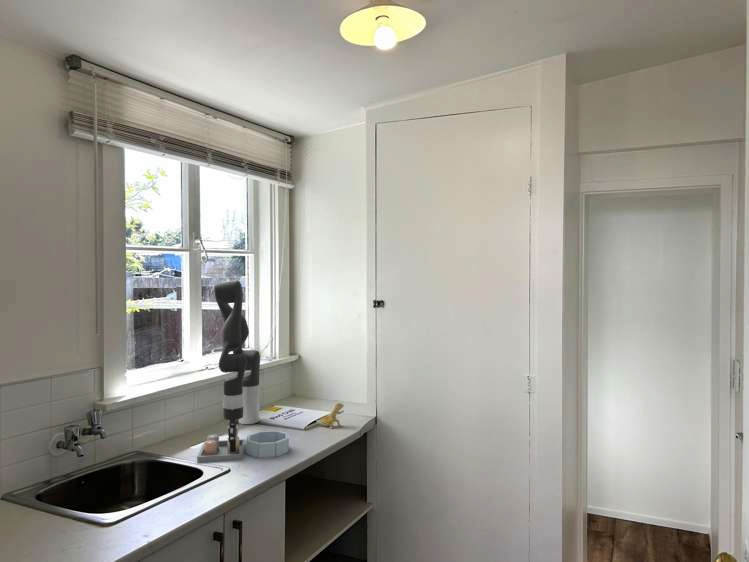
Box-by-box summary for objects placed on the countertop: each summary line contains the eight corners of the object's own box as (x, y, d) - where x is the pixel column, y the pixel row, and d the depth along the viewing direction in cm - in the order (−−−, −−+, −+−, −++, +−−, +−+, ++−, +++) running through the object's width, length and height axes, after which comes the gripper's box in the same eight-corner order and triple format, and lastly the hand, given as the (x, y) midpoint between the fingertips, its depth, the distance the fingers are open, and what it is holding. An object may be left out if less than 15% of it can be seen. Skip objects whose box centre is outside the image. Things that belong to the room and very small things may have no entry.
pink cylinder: (208, 448, 208) (208, 434, 208) (219, 448, 208) (219, 434, 208) (206, 452, 203) (206, 438, 203) (218, 451, 204) (218, 437, 204)
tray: (204, 446, 211) (204, 441, 211) (245, 444, 213) (245, 439, 213) (197, 462, 193) (197, 456, 193) (242, 460, 196) (242, 454, 195)
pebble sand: (228, 450, 206) (228, 436, 205) (239, 450, 206) (239, 436, 206) (226, 454, 201) (226, 440, 201) (238, 453, 202) (238, 439, 202)
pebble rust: (205, 454, 201) (205, 440, 201) (217, 454, 201) (217, 439, 201) (203, 458, 196) (203, 444, 196) (215, 458, 197) (215, 443, 197)
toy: (345, 424, 232) (339, 401, 235) (315, 433, 236) (310, 411, 239) (351, 423, 238) (345, 401, 241) (321, 432, 242) (316, 411, 245)
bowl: (248, 445, 212) (248, 431, 212) (288, 443, 215) (288, 429, 215) (245, 459, 197) (245, 444, 197) (288, 456, 199) (288, 442, 199)
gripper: (225, 401, 210) (225, 444, 210) (220, 410, 196) (221, 456, 196) (244, 400, 211) (244, 443, 211) (241, 409, 197) (241, 455, 197)
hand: (233, 449), depth 204 cm, fingers closed on pebble sand, 4 cm apart
